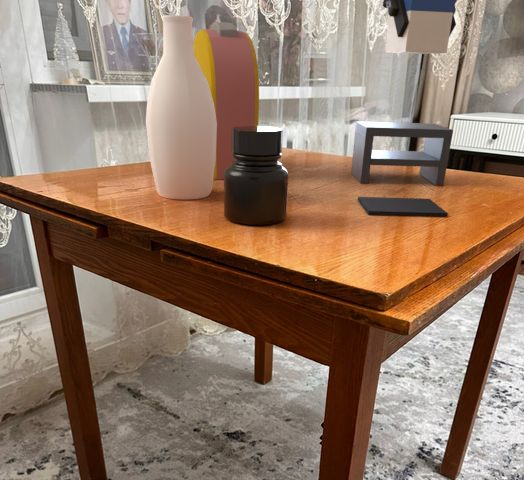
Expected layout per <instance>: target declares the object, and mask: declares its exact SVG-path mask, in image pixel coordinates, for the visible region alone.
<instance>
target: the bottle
mask: <svg viewBox="0 0 524 480" xmlns="http://www.w3.org/2000/svg"><path fill="white" fill-rule="evenodd" d="M161 21H162V36H163V37H162V56H161V58H160V61H159V63H158V65H157V67H156V69H155V72H154V74H153V76H152V79H151V81H150V86H149V90H148V95H147V100H146V113H145V127H146V128H145V129H146V136H147V137H146V138H147V145H148V146H147V147H148V154H149V161H150V167H151V171H152V176H153V181H154V186H155V190H156V193H157V195H159V197H161V198H165V199H169V200H179V201H180V200H182V201H184V200H186V201H187V200H188V201H189V200H199V199H204V198H208V197H209V195H210V194H211V193H212V191H213V183H214V179H213V176H214V169H215V161H216V133H217V121H216V114H215V108H214V102H213V98H212V95H211V91H210V88H209V84H208V81H207V79H206V77H205V75H204V73H203V71H202V69H201V67H200V65H199V63H198V61H197V59H196V57H195V55H194V45H193V43H194V34H193V33H194V32H193V31H194V30H193V22H194V17H192V16H189V15H177V14H165V15H164V14H163V15H161Z"/></svg>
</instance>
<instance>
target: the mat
mask: <svg viewBox="0 0 524 480" xmlns="http://www.w3.org/2000/svg"><path fill="white" fill-rule="evenodd" d="M357 202H358V203H359V204H360V206H361V207H362V208H363V209H364V211H365V212H366V214H367V215H368V216H391V217H392V216H394V217H395V216H397V217H432V218H433V217H435V218H438V217H439V218H447V217H448V216H449V212H447V211H446V210H445V209H443V208H442V207H441V206H440V205H438V204H437V203H435V201H433V200H432V199H431V198H421V197H420V198H419V197H416V198H415V197H385V196H358V197H357Z"/></svg>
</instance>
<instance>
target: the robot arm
mask: <svg viewBox="0 0 524 480" xmlns="http://www.w3.org/2000/svg"><path fill="white" fill-rule="evenodd" d="M457 1H458V0H456V1H455V4H456V3H457ZM381 6H382V7H383V8H385V9H387V14H388V17H389V16H392V17H394V22H395V26H396V31H397V35H398V37H403V35H404V32H405V30H406V28H407V26H408V24H409V20H408V15H407V11H406V7H405V3H404V0H383V1H382V4H381ZM456 11H457V8H456V6H455V7H454V13H453V16H452V23H451V29H450V35H449V37H451V34H452V33H453V31H454V29H455V28H456V26H457V23H456V19H455V13H456Z"/></svg>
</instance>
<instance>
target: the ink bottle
mask: <svg viewBox="0 0 524 480" xmlns="http://www.w3.org/2000/svg"><path fill="white" fill-rule="evenodd" d="M283 131H284V129H282V128H281V127H280V128H279V127H274V126H261V125H260V126H259V125H258V126H239V127H233V128H232V157H233V158H235V161H233V162H232V163H231V165H230V166H228V167H227V168H226V169H225V172H224V179H223V215H224V218H225V219H226V220H228V221H230V222H233V223H237V224H243V225H248V226H249V225H250V226H265V225H273V224H277V223H280V222H283V221H284V220H286V218H287V215H288V214H287V213H288V195H289V194H288V193H289V172H288V170H287V168H285V167H284V166H283V164H282V163H281V162H279V160H281V158H282V153H283V133H284V132H283Z"/></svg>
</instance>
